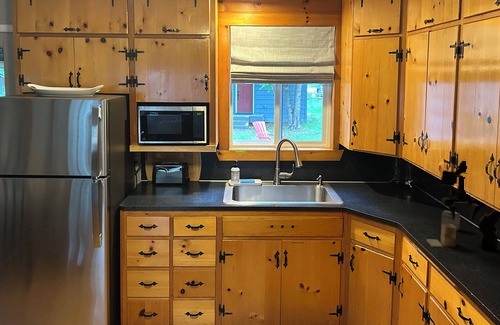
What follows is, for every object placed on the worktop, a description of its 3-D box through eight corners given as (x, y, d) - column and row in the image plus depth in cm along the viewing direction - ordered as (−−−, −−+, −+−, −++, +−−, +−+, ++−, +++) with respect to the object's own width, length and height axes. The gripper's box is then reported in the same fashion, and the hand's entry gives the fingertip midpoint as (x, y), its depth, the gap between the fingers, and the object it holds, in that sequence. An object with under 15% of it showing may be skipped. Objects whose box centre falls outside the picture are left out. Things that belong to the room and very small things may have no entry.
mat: (437, 240, 268) (437, 239, 268) (443, 247, 259) (443, 246, 259) (426, 240, 269) (426, 239, 269) (431, 246, 259) (432, 245, 259)
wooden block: (451, 242, 266) (452, 224, 265) (455, 246, 260) (456, 227, 259) (440, 242, 266) (441, 223, 265) (443, 246, 261) (445, 227, 259)
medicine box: (440, 227, 291) (441, 211, 289) (444, 226, 294) (446, 210, 292) (455, 231, 285) (456, 214, 284) (459, 229, 288) (460, 212, 287)
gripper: (478, 183, 266) (476, 215, 269) (438, 183, 267) (436, 215, 269) (487, 188, 255) (485, 222, 258) (446, 188, 256) (444, 221, 258)
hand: (462, 219), depth 261 cm, fingers open, 8 cm apart
